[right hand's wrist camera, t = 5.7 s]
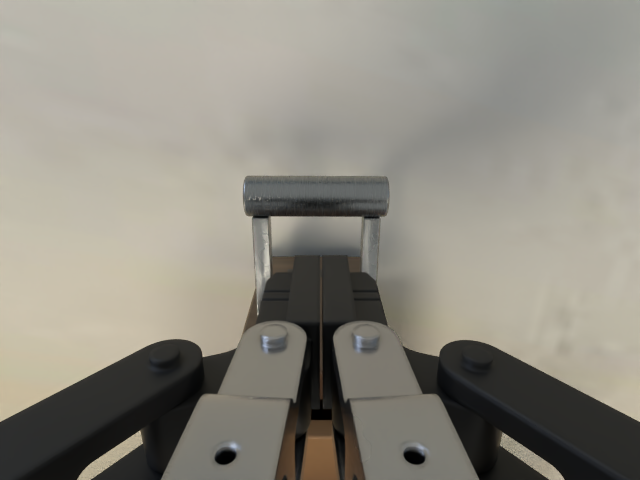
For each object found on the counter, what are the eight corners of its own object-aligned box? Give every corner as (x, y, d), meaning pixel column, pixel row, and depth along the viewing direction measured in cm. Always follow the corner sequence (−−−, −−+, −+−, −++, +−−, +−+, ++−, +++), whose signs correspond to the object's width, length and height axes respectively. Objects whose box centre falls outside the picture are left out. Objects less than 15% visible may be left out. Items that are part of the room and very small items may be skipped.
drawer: (259, 145, 21) (216, 199, 12) (373, 145, 21) (415, 200, 12) (275, 484, 29) (256, 665, 20) (356, 484, 29) (373, 665, 20)
